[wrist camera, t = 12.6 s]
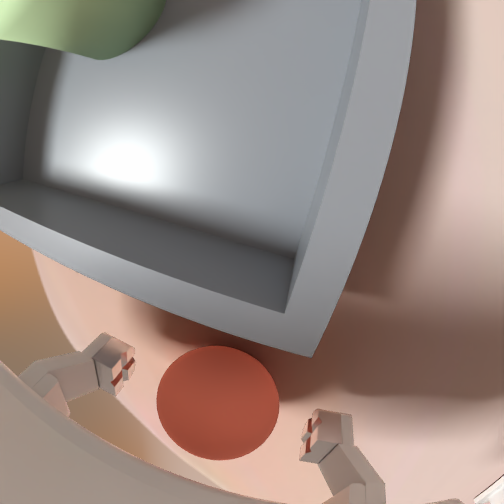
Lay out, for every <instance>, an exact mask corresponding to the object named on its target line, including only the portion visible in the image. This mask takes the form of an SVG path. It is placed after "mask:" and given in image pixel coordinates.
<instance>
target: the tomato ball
mask: <svg viewBox="0 0 504 504" xmlns="http://www.w3.org/2000/svg"><path fill="white" fill-rule="evenodd" d="M157 411H158V415H159V419H160V421H161V424H162V426H163V428H164V429H165V431H166V432H167V434H168V435H169V437H170V438H171V439H172V440H173V441H174V442H175V443H176V444H177V445H178V446H180V447H181V448H182V449H184V450H185V451H187V452H189V453H191V454H193V455H195V456H198V457H201V458H205V459H210V460H230V459H235V458H239V457H242V456H244V455H246V454H249V453H250V452H252V451H254V450H255V449H257V448H258V447H259V446H261V445H262V444H263V443H264V442H265V441H266V439H267V438H268V437H269V435H270V434H271V433H272V431H273V429H274V427H275V424H276V422H277V418H278V414H279V395H278V391H277V388H276V385H275V383H274V380H273V379H272V377H271V375H270V374H269V372H268V371H267V370H266V368H265V367H264V366H263V365H262V364H261V363H260V362H259V361H258V360H256V359H255V358H254V357H252V356H250V355H249V354H247V353H245V352H243V351H240V350H238V349H234V348H231V347H226V346H207V347H201V348H197V349H194V350H192V351H189V352H187V353H185V354H184V355H182V356H181V357H179V358H178V359H177V360H175V361H174V362H173V363H172V364H171V365H170V366H169V368H168V369H167V370H166V372H165V373H164V375H163V377H162V379H161V381H160V384H159V387H158V392H157Z"/></svg>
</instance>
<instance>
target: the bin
mask: <svg viewBox="0 0 504 504" xmlns="http://www.w3.org/2000/svg"><path fill="white" fill-rule="evenodd" d="M415 12H416V0H166V3H165V6H164V9H163V11H162V13H161V16H160V17H159V19H158V21H157V22H156V24H155V25H154V26H153V28H152V29H151V30H150V31H149V33H148V34H147V35H146V36H145V37H144V38H143V39H142V40H141V41H140V42H139V43H137V44H136V45H135V46H134V47H132V48H131V49H129V50H128V51H126V52H125V53H123V54H121V55H119V56H117V57H114V58H111V59H107V60H95V59H92V58H88V57H85V56H81V55H77V54H73V53H70V52H65V51H61V50H57V49H53V48H48V47H43V46H38V45H33V44H28V43H22V42H15V41H8V40H0V230H1V231H2V232H5V233H6V234H7V235H9V236H11V237H13V238H14V239H16V240H18V241H20V242H21V243H23V244H25V245H27V246H29V247H30V248H32V249H34V250H36V251H37V252H39V253H41V254H43V255H45V256H47V257H49V258H51V259H52V260H54V261H56V262H58V263H60V264H62V265H64V266H66V267H68V268H70V269H72V270H74V271H76V272H78V273H80V274H82V275H84V276H87V277H89V278H91V279H93V280H95V281H97V282H99V283H102V284H104V285H106V286H108V287H110V288H113V289H115V290H117V291H119V292H122V293H124V294H126V295H129V296H131V297H133V298H136V299H138V300H140V301H143V302H145V303H148V304H150V305H153V306H155V307H158V308H160V309H163V310H165V311H168V312H170V313H173V314H175V315H178V316H181V317H183V318H186V319H189V320H191V321H194V322H197V323H200V324H203V325H205V326H208V327H211V328H214V329H217V330H220V331H223V332H226V333H229V334H232V335H235V336H238V337H241V338H244V339H247V340H250V341H254V342H257V343H260V344H263V345H267V346H270V347H273V348H277V349H280V350H284V351H287V352H291V353H295V354H298V355H302V356H306V357H310V358H312V356H313V354H314V352H315V350H316V348H317V346H318V344H319V342H320V340H321V337H322V335H323V333H324V331H325V329H326V327H327V325H328V322H329V320H330V318H331V316H332V314H333V311H334V309H335V307H336V305H337V302H338V300H339V298H340V295H341V293H342V291H343V288H344V286H345V283H346V281H347V278H348V276H349V274H350V271H351V269H352V266H353V263H354V261H355V258H356V256H357V253H358V250H359V248H360V245H361V242H362V240H363V237H364V234H365V231H366V228H367V226H368V223H369V220H370V217H371V214H372V211H373V208H374V205H375V202H376V199H377V195H378V192H379V189H380V186H381V183H382V179H383V176H384V172H385V169H386V165H387V162H388V158H389V155H390V151H391V147H392V143H393V139H394V135H395V131H396V127H397V123H398V119H399V114H400V110H401V105H402V100H403V95H404V90H405V85H406V80H407V74H408V68H409V62H410V55H411V48H412V41H413V32H414V23H415Z"/></svg>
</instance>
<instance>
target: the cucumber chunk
mask: <svg viewBox="0 0 504 504" xmlns="http://www.w3.org/2000/svg"><path fill="white" fill-rule="evenodd" d="M165 3H166V0H0V40H8V41H15V42H22V43H28V44H33V45H38V46H43V47H48V48H53V49H57V50H61V51H65V52H70V53H73V54H77V55H81V56H85V57H88V58H92V59H95V60H107V59H111V58H114V57H117V56H119V55H121V54H123V53H125V52H126V51H128V50H129V49H131V48H132V47H134V46H135V45H136V44H137V43H139V42H140V41H141V40H142V39H143V38H144V37H145V36H146V35H147V34H148V33H149V31H150V30H151V29H152V28H153V26H154V25H155V24H156V22H157V21H158V19H159V17H160V16H161V13H162V11H163V9H164V6H165Z"/></svg>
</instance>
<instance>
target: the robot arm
mask: <svg viewBox="0 0 504 504" xmlns="http://www.w3.org/2000/svg"><path fill="white" fill-rule="evenodd" d="M134 354H135V348H134V347H132V346H130V345H128V344H126V343H124V342H122V341H121V340H119V339H117V338H115V337H113V336H111V335H109V334H107V333H105V332H104V333H101V334H100V335H99V336H98V337H97V338H96V339H95V340H94V341H93V342H92V343H91V344H90V345H89V346H88V347H87V348H86V349H85V350H84V351H83V352H80V351H77V352H73V353H68V354H64V355H60V356H55V357H51V358H46V359H41V360H36V361H34V362H33V363H32V364H31V365H30V366H28V367H27V368H26V369H25V370H24V371H23V372H22V373H21V374H20V375H19V376H18V377H17V376H16V375H15V374H14V373H13V372H12V371H11V370H10V369H9V368H8V367H6V365H4V363H2V362H1V361H0V504H286V503H279V502H273V501H268V500H263V499H258V498H253V497H249V496H244V495H240V494H236V493H232V492H229V491H225V490H221V489H218V488H214V487H211V486H208V485H205V484H201V483H199V482H196V481H193V480H190V479H187V478H184V477H182V476H179V475H176V474H174V473H171V472H169V471H167V470H164V469H162V468H160V467H157V466H155V465H153V464H150V463H148V462H146V461H144V460H142V459H140V458H138V457H135V456H133V455H131V454H129V453H128V452H126V451H124V450H122V449H120V448H118V447H116V446H114V445H112V444H111V443H109V442H107V441H105V440H103V439H102V438H100V437H99V436H97V435H95V434H93V433H91V432H90V431H89V430H87V429H85V428H84V427H82V426H81V425H79V424H78V423H76V422H75V421H73V420H72V419H70V418H69V417H68V416H69V415H70V411H69V408H68V406H67V403H66V402H68V401H70V400H73V399H75V398H78V397H81V396H83V395H86V394H88V393H90V392H93V391H95V390H98V389H99V388H101V389H103V390H105V391H106V392H108V393H110V394H112V395H114V396H117V394H118V393H119V392H120V390H121V389H122V388H123V387H124V386H123V381H126V380H129V379H130V377H131V376H132V374H133V372H134V369H135V360H134V358H133V355H134ZM301 439H302V441H303V442H304V444H303V445H302V446H301V447H300V456H299V460H300V461H305V462H311V463H317V464H318V466H319V468H320V470H321V472H322V474H323V476H324V478H325V480H326V482H327V484H328V486H329V488H330V490H331V492H332V494H333V497H331V498H330V499H328V500H327V501H325V502H324V503H322V504H386V495H385V483H384V482H383V480H382V479H381V478H380V476H379V475H378V474H377V472H376V471H375V470H374V468H373V467H372V466H371V464H370V463H369V462H368V460H367V459H366V458H365V456H364V455H363V454H362V452H361V451H360V450H359V448H358V447H357V446H354V437H353V422H352V416H351V415H349V414H343V413H339V412H333V411H327V410H322V409H316V410H315V411H314V412H313V413H312V418H311V419H308V421H307V422H306V424H305V426H304V428H303V432H302V438H301ZM486 502H490V504H504V476H502V477H501V478H500V479H499V480H498V481H497V482H495V483H494V484H493V485H492V486H490V487H489V488H488V489H487V490H485V491H484V492H483V493H481V494H480V495H479V496H477V497H476V498H475V499H474V503H475V504H483V503H486ZM427 504H464V503H463V502H462V501H460V500H459V499H448V500H444V501H439V502H433V503H427Z"/></svg>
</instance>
